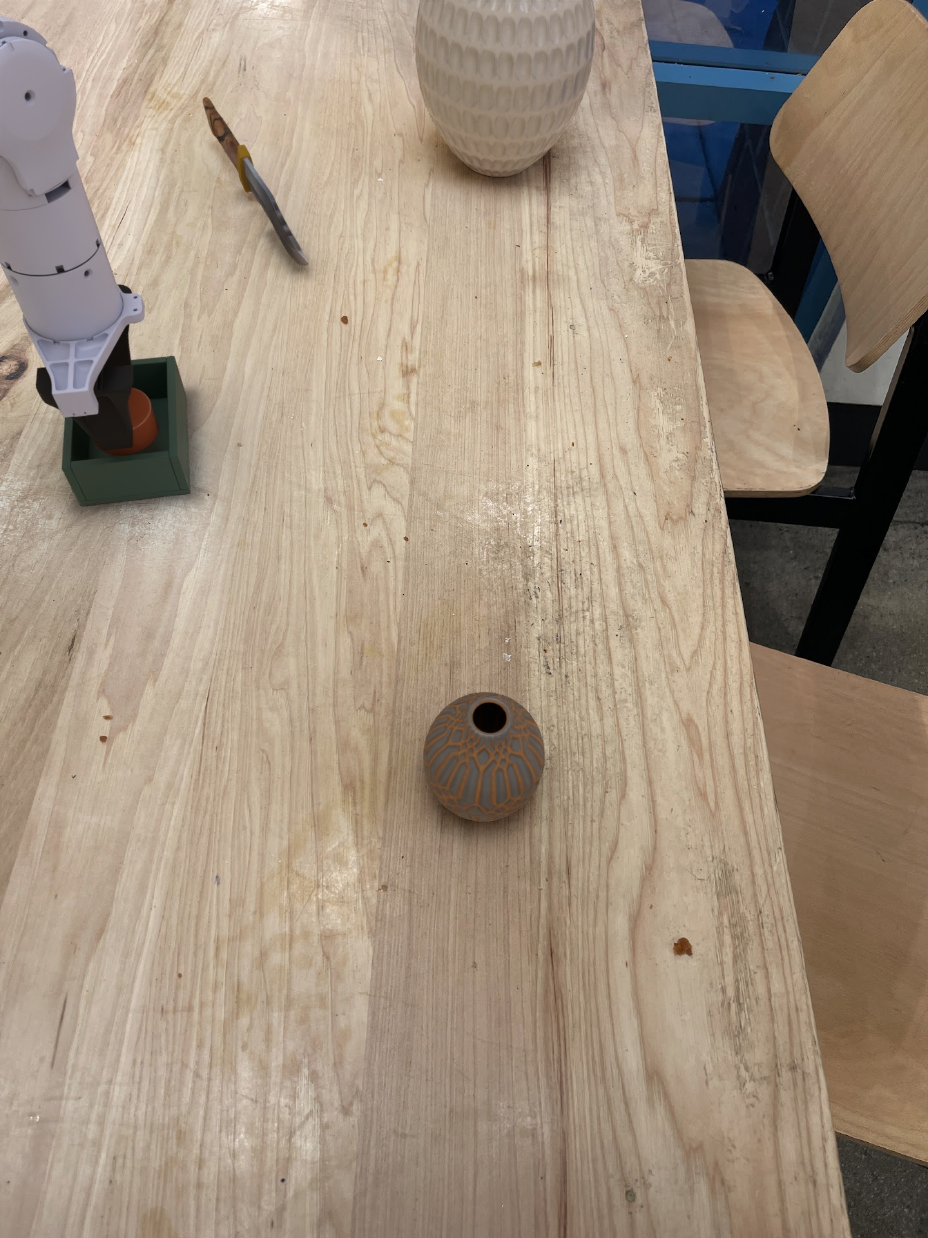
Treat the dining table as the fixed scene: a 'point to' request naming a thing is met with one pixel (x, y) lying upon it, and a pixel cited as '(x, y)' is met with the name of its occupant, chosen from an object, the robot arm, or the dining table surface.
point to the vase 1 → (503, 75)
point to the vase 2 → (483, 756)
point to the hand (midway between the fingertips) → (118, 418)
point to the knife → (252, 180)
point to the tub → (144, 471)
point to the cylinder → (139, 424)
